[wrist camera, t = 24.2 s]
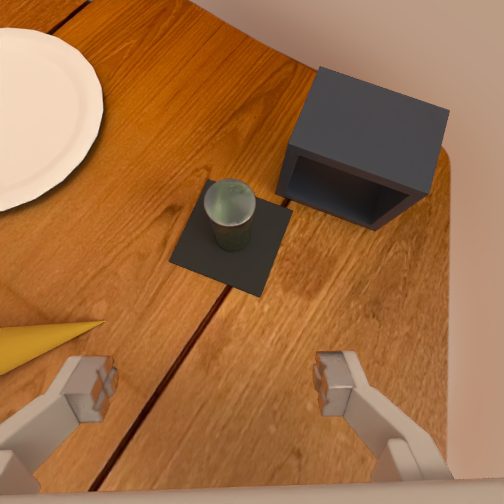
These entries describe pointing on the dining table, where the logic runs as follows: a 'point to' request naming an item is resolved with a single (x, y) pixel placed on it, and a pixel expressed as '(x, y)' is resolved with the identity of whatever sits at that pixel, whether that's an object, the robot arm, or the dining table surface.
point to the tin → (230, 213)
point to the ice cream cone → (35, 341)
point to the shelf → (361, 150)
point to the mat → (233, 263)
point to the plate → (43, 113)
